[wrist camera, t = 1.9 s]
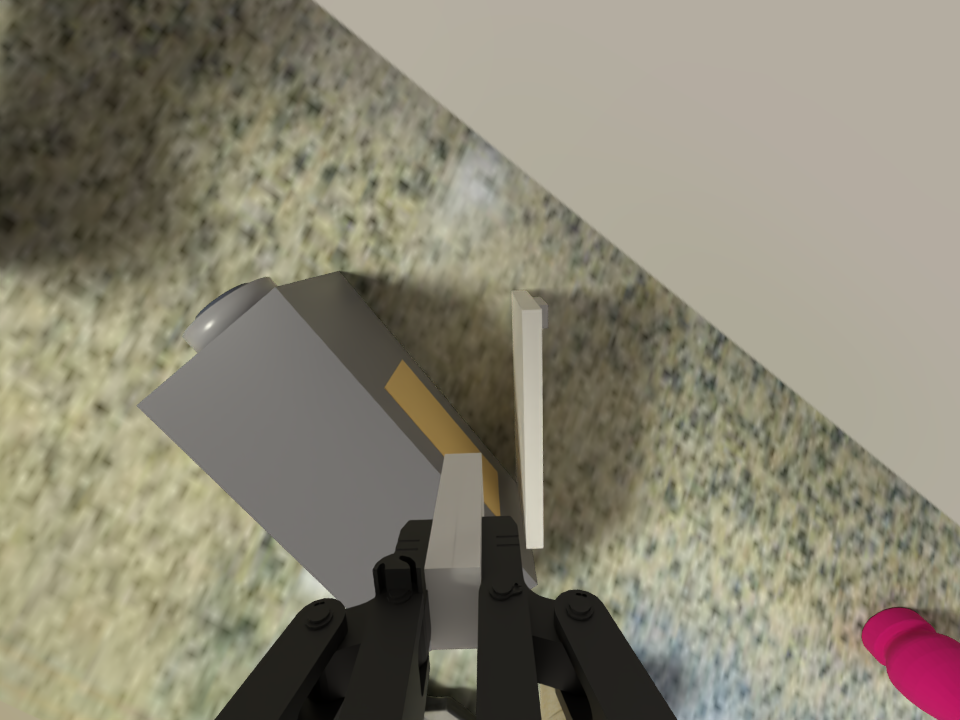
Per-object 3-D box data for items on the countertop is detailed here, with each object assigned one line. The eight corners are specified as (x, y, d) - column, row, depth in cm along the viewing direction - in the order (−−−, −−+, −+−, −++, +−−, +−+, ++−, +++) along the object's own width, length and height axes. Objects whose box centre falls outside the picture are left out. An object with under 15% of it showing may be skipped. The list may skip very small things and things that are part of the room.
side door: (511, 290, 37) (522, 310, 27) (535, 289, 37) (555, 308, 27) (516, 475, 41) (526, 548, 32) (537, 474, 41) (554, 547, 32)
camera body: (216, 333, 39) (93, 379, 27) (319, 246, 37) (237, 251, 25) (425, 554, 45) (404, 676, 33) (522, 490, 43) (539, 593, 31)
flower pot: (613, 634, 47) (641, 719, 39) (611, 701, 50) (637, 794, 42) (524, 637, 48) (533, 722, 39) (527, 704, 50) (535, 798, 42)
